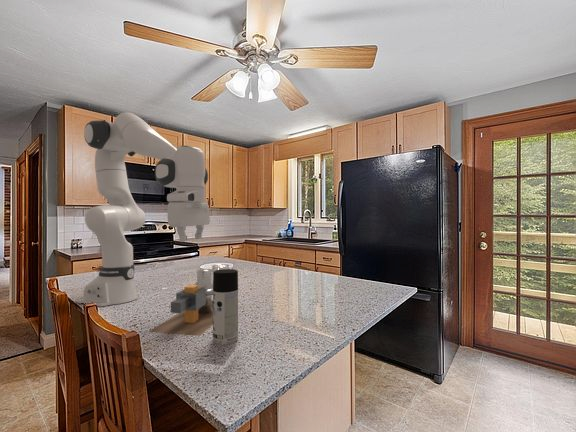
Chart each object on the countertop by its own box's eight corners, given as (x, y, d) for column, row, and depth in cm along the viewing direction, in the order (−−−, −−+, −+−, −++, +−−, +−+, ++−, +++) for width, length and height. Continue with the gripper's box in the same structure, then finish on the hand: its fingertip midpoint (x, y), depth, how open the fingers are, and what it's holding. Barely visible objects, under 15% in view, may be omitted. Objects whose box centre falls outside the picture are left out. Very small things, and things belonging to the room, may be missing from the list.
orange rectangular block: (184, 322, 93) (184, 287, 93) (189, 318, 96) (189, 284, 96) (193, 322, 92) (193, 287, 92) (198, 319, 95) (198, 285, 95)
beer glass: (225, 307, 113) (225, 267, 112) (208, 305, 114) (208, 266, 114) (232, 301, 119) (232, 264, 119) (216, 300, 121) (216, 263, 121)
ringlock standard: (158, 330, 86) (158, 281, 86) (197, 305, 109) (197, 266, 109) (193, 333, 84) (193, 282, 84) (225, 307, 107) (225, 267, 107)
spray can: (215, 339, 83) (214, 268, 83) (239, 338, 84) (239, 268, 84) (211, 350, 77) (210, 273, 77) (237, 349, 77) (236, 273, 77)
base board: (148, 336, 86) (148, 331, 86) (193, 308, 111) (193, 304, 111) (200, 340, 83) (200, 335, 83) (233, 310, 108) (233, 306, 108)
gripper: (197, 198, 106) (197, 237, 106) (163, 195, 85) (163, 243, 86) (214, 198, 104) (214, 237, 105) (183, 194, 84) (183, 243, 84)
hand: (191, 240), depth 95 cm, fingers open, 8 cm apart
